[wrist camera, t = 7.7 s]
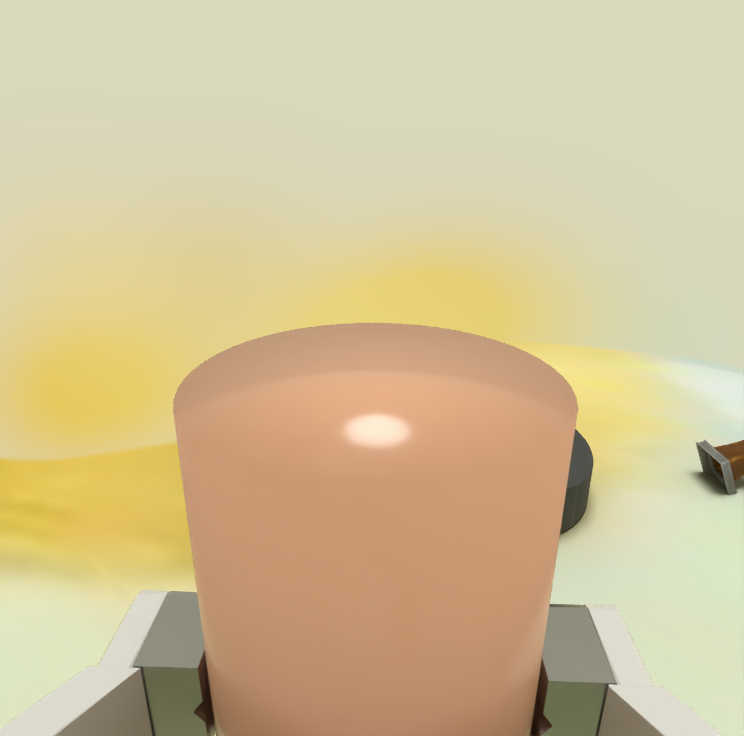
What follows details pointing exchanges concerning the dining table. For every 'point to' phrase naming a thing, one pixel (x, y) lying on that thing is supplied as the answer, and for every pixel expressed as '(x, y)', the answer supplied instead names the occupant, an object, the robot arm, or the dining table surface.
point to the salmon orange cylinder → (374, 529)
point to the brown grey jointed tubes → (723, 462)
